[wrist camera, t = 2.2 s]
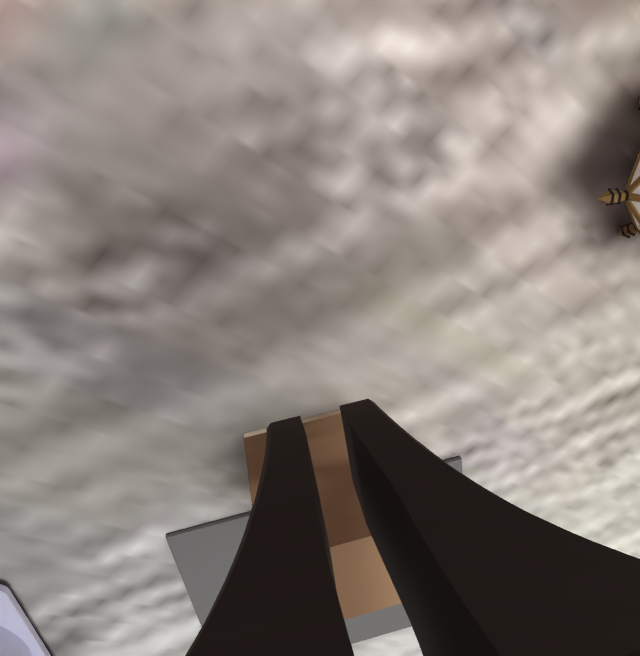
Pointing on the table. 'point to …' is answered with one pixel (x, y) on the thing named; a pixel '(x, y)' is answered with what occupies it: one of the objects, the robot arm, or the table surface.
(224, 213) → the table surface
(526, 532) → the robot arm
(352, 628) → the mat
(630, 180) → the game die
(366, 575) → the walnut block
